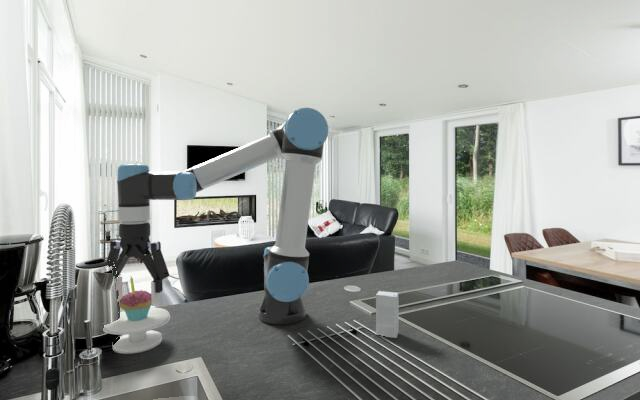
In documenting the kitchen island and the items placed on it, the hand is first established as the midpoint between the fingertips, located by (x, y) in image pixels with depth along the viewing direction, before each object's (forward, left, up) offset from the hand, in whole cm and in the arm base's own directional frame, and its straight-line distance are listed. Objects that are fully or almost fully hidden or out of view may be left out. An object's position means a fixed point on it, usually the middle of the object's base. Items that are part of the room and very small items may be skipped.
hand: (136, 302), depth 100 cm
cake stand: (0, 0, -11) cm, 11 cm away
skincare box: (-66, -21, -11) cm, 70 cm away
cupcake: (0, 0, -4) cm, 4 cm away
